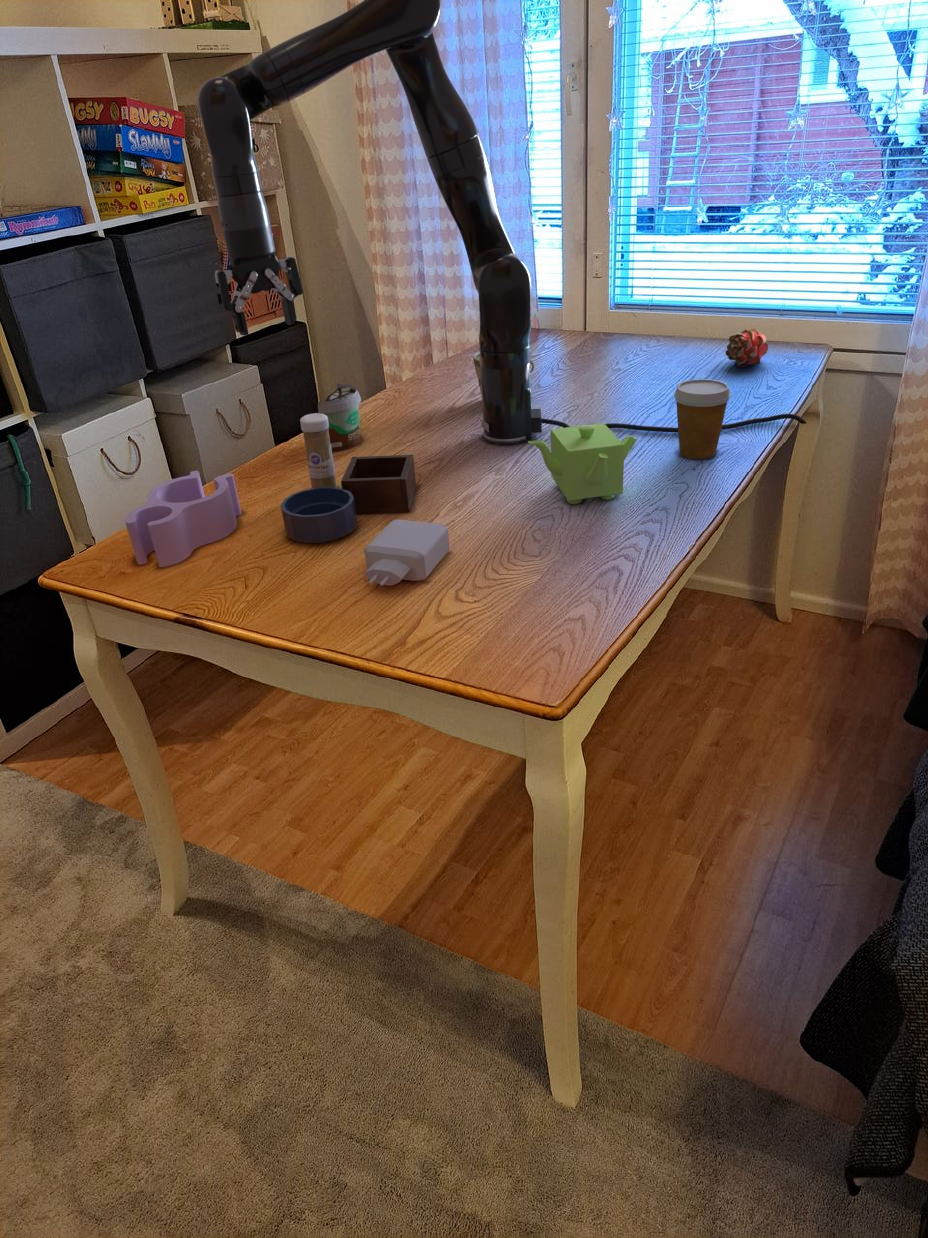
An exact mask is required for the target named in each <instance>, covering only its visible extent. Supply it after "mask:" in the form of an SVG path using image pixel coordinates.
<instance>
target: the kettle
mask: <svg viewBox="0 0 928 1238" xmlns="http://www.w3.org/2000/svg"><path fill="white" fill-rule="evenodd" d="M605 424H606V423H604V422H600V423H592V424H591V423H590V424H583V425H575V426H571V427H566V428H563V427H559V428H551V429H550V447H549V446H548V444H547V443H546V442H545V441H543V440H541V439H540V440H539V439H535V440H531V441H527V443H528V444H529V445H530V444H531V445H533V446H535V447H536V448H538V449H539V451H540V453H541V455H542V459H543V462H544V464H545V466H546V469H547V470H548V471H549V472H550V476H551V477H552V480H553V481H554V482H555V484H556V485H557V486H558V489H559V490H560V492H561V493H562V494H563V496H564V497H565V499H566V500H567V503H568V504H573V505H576V504H580V503H582V500H584V499H590V498H600V499H602V500H612V499H614V498H615V496H614V495H622V494H623V493H624V470H625V469H624V467H625V466H624V465H625V460H626V458H627V457H628V455H629V454H630V452H631V450H632V449H633V447H634V446H635V444H636V443H637V441H638V438H637V437H635V436H632V435H626V437H625V438H624V439H623V440H622V441H621V440H620V439H619V437H618V436H617V435H616V434H615V433H614V432H613V431H612V430H611V428H608V427H607V426H606V425H605Z"/></svg>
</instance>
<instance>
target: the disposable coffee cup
mask: <svg viewBox="0 0 928 1238" xmlns="http://www.w3.org/2000/svg"><path fill="white" fill-rule="evenodd" d="M673 396H674V400H675V402H676V403H675V404H676V418H677V420H676V421H677V428H678V433H677V435H678V449H679V455H681V457H683V458H687V459H691V460H707V459H711V458H714V456H716V455H717V450H718V447H719V446H718V445H719V441H720V437H721V432H722V430H721V428H722V425H723V424H724V418H725V415H726V409H727V405H728V402H729V400H730V398H731V397H732V392H731V391H730V386H729V385H728V383H726V382H725V381H721V380H718V379H711V378H694V379H688V380H684V381H682V382H679V383H678V384H677V385H676V388H675V391H674V392H673ZM716 449H717V450H716Z"/></svg>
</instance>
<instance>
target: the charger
mask: <svg viewBox="0 0 928 1238" xmlns="http://www.w3.org/2000/svg"><path fill="white" fill-rule="evenodd" d="M363 551H364V556H365V558H364V559H365V565H366V571H364V574H363V576H364V577H365V578H366V579H367V580H369V581H368V583H367V584H369V585H372V584H373V583H374V584H377V585H380V587H383V586H384V585H385V586H393V585H397V584H399V583H400V582H401V581H402V580H405V581H412V582H419V581H424V580H426V579H427V577H428V576H429V575H430V574H431V573H432V571H434V569H435V568H436V566H438V564H439V563H440V562H441V561H442V560H443V558H444V557H445V556H446V555H447V553H448V552H450V537H449V529H448V527H447V526H445V525H444V524H440V523H436V522H426V521H417V520H408V519H393V520H391V522H389V523H388V524H387V525H386V526H385V527H384V528H383V529H382V530H381V531H380V532H379V533H378V534H377V535H376V536H375V537H374V538H373V539H372V540H371V541H370V542H369V543H368V544H367V546H365V547H364V549H363Z"/></svg>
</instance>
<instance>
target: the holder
mask: <svg viewBox="0 0 928 1238" xmlns="http://www.w3.org/2000/svg"><path fill="white" fill-rule="evenodd" d="M340 484H341V488H343V489H345V490H347V491H350V492H351V493H352V495H353V497H354V501H355V508H356V515H359V514H361V515H362V514H386V513H387V514H388V513H390V514H393V513H410V511H411V507H412V503H413V500H414V496H415V492H416V489H417V478H416V468H415V458H414V455H413V454H396V455H395V454H394V455H371V456H370V455H369V456H352V457H351V458H350V461H349V463H348V465H347V468H346V469H345V472H344V474H343V475H342V478H341V480H340Z"/></svg>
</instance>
